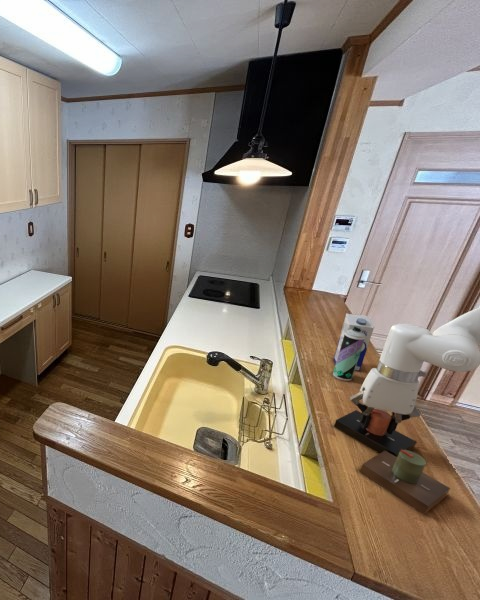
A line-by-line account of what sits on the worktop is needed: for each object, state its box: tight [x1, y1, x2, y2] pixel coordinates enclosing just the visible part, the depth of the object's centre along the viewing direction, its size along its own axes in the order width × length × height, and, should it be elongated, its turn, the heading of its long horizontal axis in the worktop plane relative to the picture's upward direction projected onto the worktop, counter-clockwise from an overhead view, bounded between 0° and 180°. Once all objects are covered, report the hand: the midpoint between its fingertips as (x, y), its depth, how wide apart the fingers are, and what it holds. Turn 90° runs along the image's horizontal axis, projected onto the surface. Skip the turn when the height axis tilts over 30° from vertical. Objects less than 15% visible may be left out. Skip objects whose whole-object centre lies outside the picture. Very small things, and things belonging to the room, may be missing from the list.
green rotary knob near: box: [392, 450, 427, 483], centre depth 74 cm, size 4×4×6 cm
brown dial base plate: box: [359, 451, 451, 515], centre depth 76 cm, size 12×10×3 cm
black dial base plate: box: [333, 409, 417, 457], centre depth 89 cm, size 14×10×3 cm
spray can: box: [332, 326, 365, 382], centre depth 114 cm, size 6×6×20 cm
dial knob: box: [365, 408, 392, 436], centre depth 88 cm, size 4×4×6 cm
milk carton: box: [333, 313, 375, 372], centre depth 121 cm, size 7×7×20 cm
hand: (375, 427), depth 89 cm, fingers closed on dial knob, 4 cm apart
